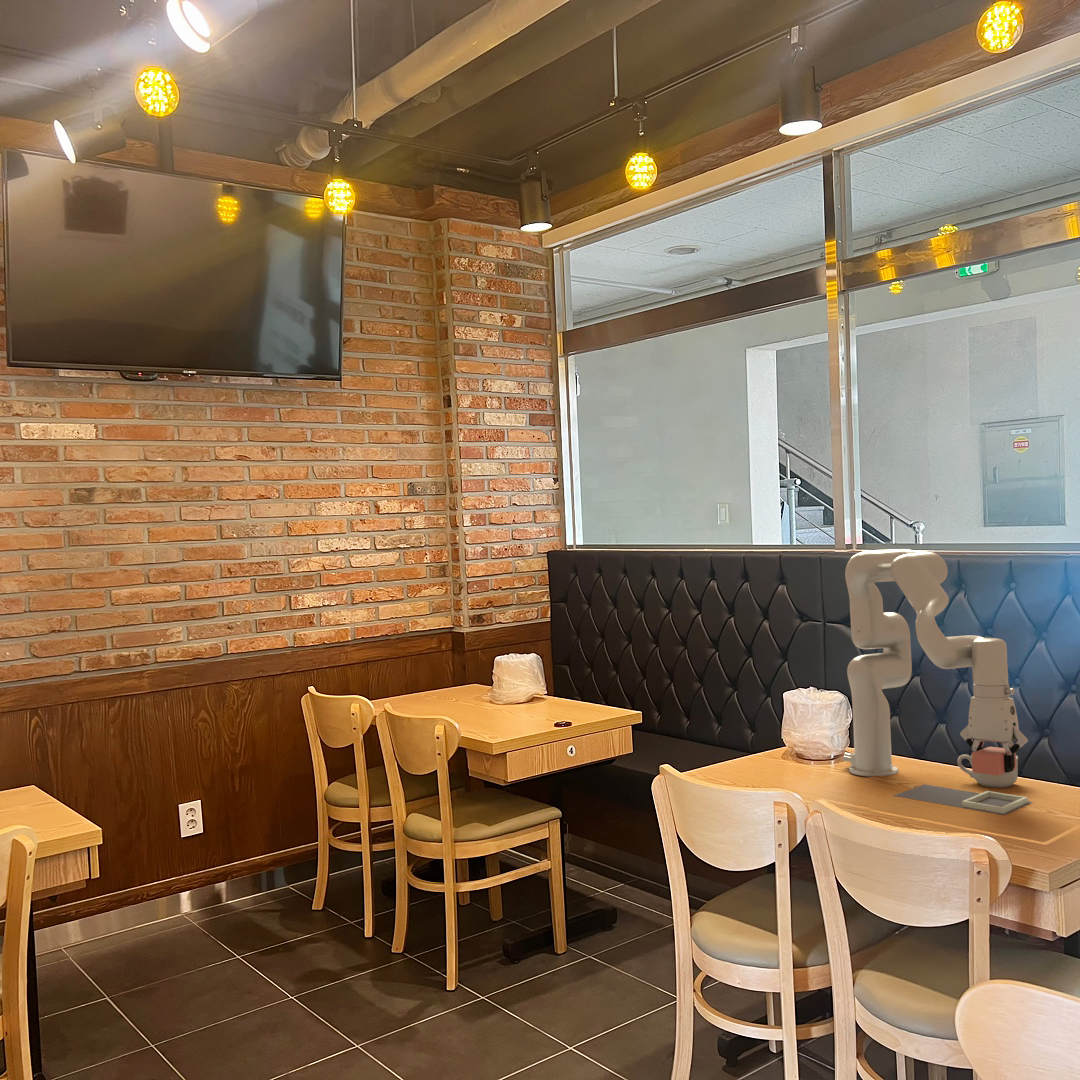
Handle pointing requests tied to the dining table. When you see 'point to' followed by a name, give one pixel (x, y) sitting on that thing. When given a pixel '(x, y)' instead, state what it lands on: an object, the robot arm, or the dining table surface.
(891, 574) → the robot arm
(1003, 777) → the teacup
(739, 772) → the dining table surface
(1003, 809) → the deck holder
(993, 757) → the card deck
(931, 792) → the play mat
